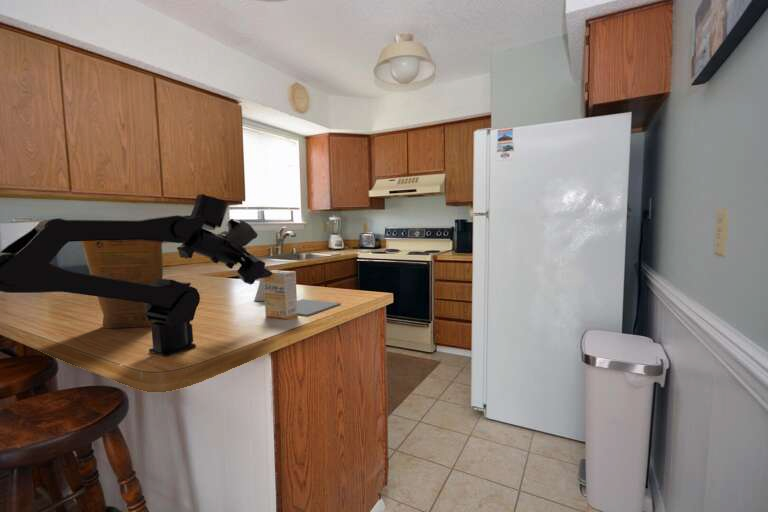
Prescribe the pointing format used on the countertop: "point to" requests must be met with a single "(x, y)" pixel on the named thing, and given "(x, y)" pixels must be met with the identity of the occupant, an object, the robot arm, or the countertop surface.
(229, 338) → the countertop surface
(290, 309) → the supplement box
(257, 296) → the flask
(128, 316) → the pancake mix bag
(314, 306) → the mat
